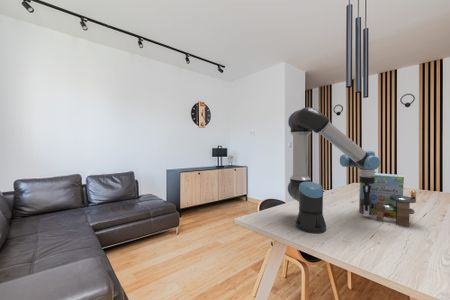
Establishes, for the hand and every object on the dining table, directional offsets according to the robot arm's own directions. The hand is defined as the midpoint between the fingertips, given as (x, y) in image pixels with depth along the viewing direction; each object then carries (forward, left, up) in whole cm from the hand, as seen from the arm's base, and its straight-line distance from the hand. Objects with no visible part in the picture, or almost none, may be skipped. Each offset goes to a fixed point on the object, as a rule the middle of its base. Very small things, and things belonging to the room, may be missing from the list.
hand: (366, 214), depth 124 cm
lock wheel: (0, -16, +11) cm, 20 cm away
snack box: (+12, -6, -2) cm, 13 cm away
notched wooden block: (0, -12, -2) cm, 12 cm away
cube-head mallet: (0, -10, 0) cm, 10 cm away
